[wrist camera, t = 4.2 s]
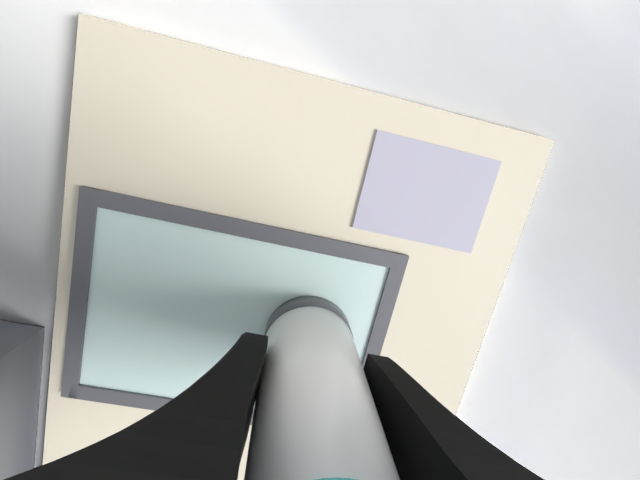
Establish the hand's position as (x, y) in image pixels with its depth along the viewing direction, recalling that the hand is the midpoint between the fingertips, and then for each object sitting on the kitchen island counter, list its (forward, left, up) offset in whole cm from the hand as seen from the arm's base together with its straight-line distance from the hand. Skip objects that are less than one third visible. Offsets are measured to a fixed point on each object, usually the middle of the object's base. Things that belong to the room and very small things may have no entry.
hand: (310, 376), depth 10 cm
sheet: (0, +1, -3) cm, 3 cm away
